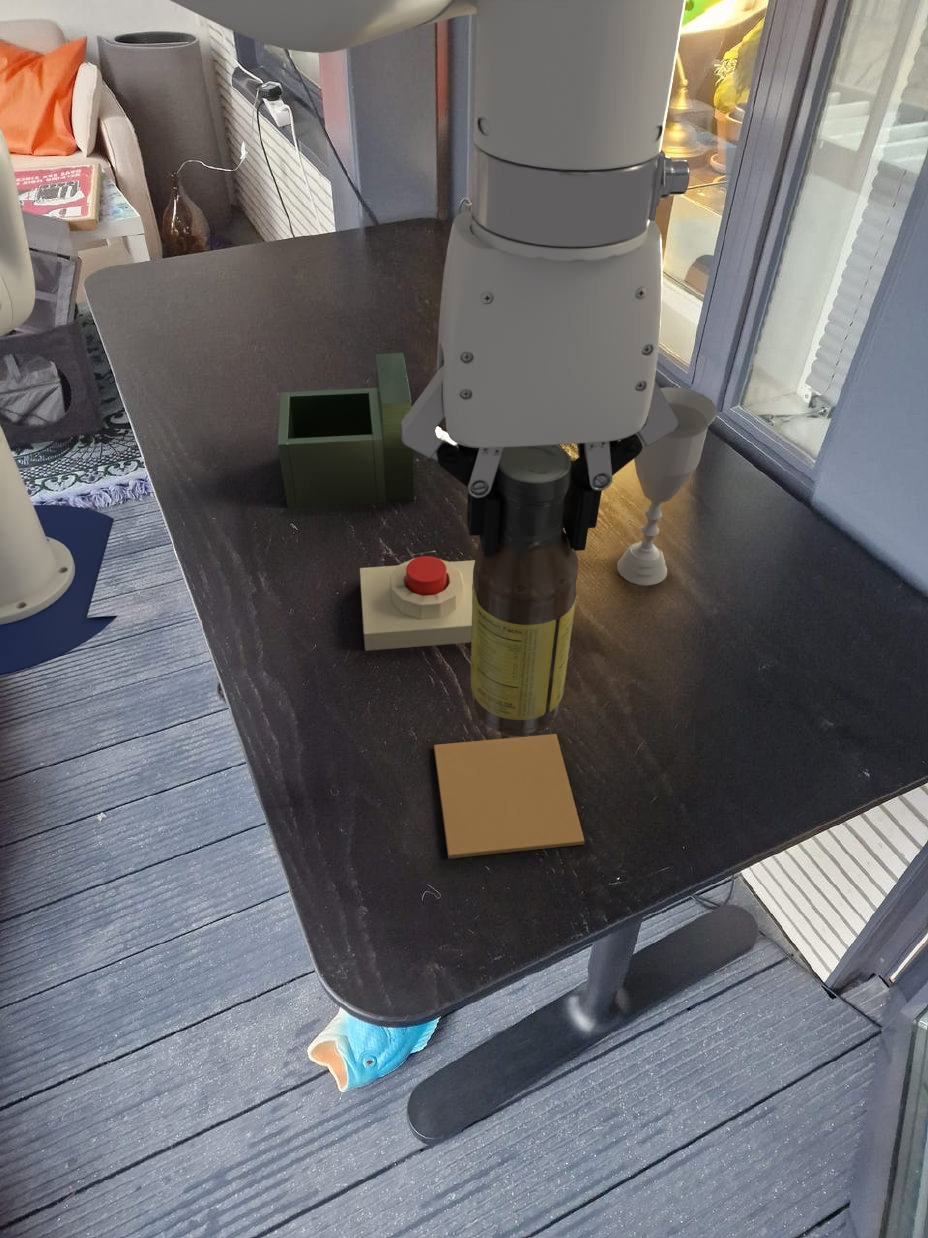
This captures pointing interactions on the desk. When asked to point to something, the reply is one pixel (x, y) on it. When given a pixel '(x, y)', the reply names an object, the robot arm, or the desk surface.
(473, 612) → the sauce bottle
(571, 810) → the mat
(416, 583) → the button
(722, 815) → the desk surface
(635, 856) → the desk surface
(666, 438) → the chalice
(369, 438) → the green open box holder
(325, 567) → the desk surface
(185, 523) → the desk surface
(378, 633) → the control block
